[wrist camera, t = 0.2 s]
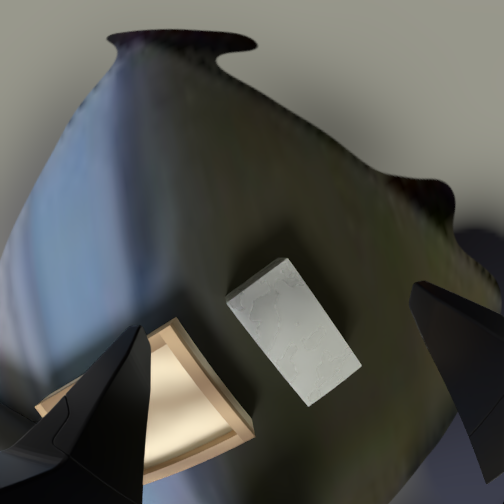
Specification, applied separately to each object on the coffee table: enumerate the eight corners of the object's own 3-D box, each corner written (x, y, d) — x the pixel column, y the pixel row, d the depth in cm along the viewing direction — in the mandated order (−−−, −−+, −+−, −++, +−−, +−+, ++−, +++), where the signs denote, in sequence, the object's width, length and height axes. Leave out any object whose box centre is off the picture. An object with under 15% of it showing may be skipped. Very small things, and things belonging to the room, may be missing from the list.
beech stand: (251, 418, 23) (255, 436, 20) (119, 477, 22) (112, 494, 19) (176, 316, 23) (169, 325, 20) (49, 394, 22) (34, 406, 19)
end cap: (60, 419, 22) (29, 452, 15) (63, 466, 21) (39, 500, 15) (-10, 380, 21) (-46, 400, 14) (-4, 428, 21) (-33, 451, 14)
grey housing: (342, 351, 25) (361, 365, 21) (296, 386, 24) (308, 406, 20) (277, 257, 24) (287, 257, 20) (225, 295, 24) (226, 303, 20)
